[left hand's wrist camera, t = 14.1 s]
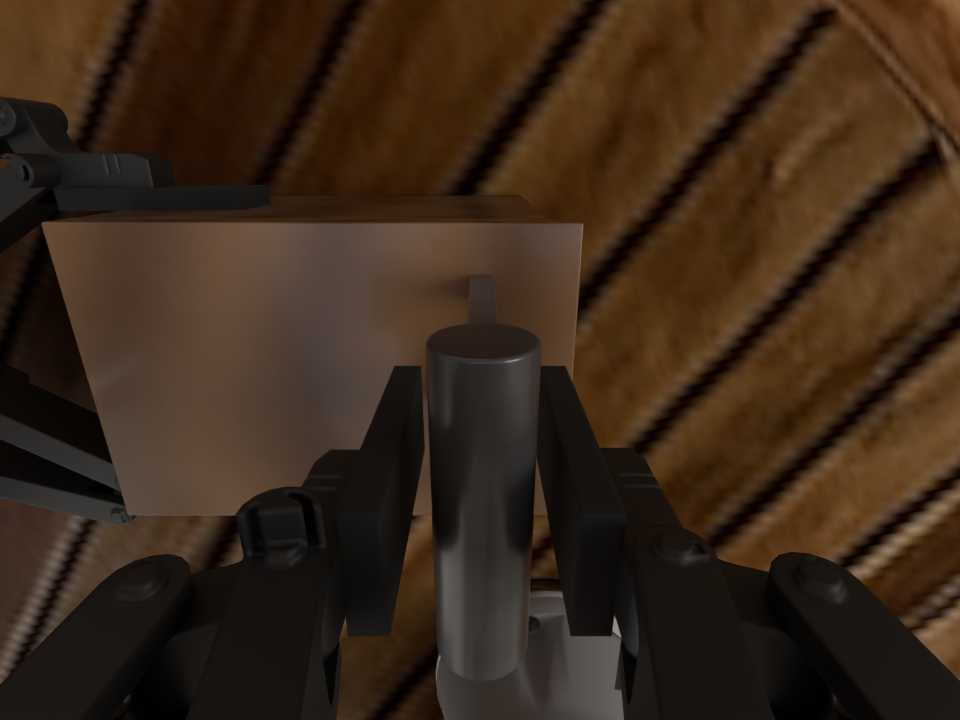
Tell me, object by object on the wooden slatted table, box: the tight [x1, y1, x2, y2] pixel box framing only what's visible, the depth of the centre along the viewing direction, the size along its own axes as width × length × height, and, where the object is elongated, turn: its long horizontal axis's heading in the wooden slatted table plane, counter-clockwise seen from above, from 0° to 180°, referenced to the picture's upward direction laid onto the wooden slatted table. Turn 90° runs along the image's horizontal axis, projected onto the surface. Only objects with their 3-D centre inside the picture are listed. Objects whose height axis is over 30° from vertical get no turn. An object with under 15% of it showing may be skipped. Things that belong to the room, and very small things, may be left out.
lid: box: [41, 218, 584, 682], centre depth 14 cm, size 16×10×8 cm, turn 90°
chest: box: [75, 195, 547, 219], centre depth 23 cm, size 15×10×11 cm
